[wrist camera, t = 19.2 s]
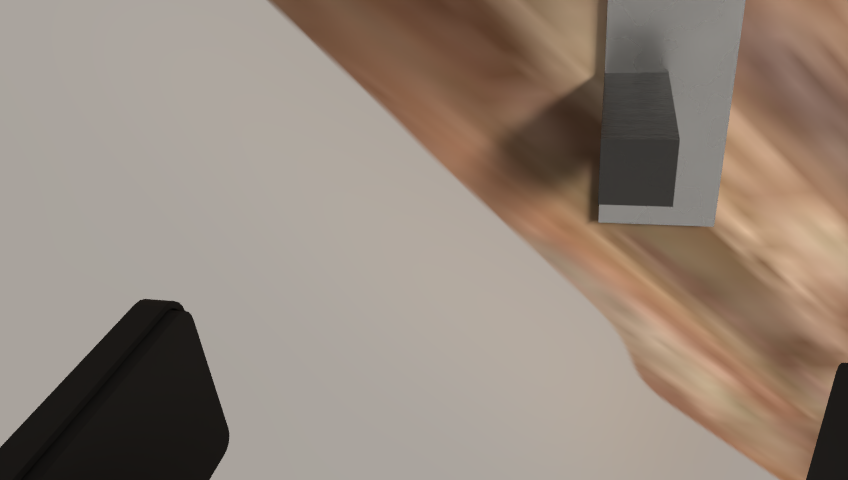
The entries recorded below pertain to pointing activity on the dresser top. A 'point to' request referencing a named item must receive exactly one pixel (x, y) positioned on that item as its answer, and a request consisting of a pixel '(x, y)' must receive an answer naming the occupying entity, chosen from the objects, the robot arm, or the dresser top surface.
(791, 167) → the dresser top surface
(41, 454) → the robot arm
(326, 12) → the dresser top surface
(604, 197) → the scraper
